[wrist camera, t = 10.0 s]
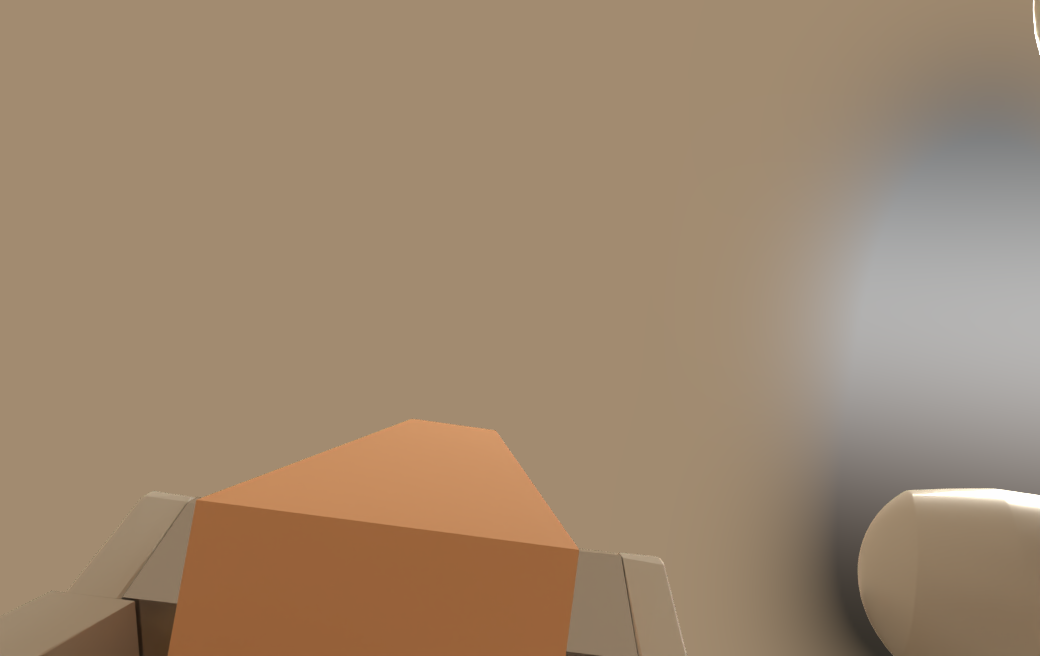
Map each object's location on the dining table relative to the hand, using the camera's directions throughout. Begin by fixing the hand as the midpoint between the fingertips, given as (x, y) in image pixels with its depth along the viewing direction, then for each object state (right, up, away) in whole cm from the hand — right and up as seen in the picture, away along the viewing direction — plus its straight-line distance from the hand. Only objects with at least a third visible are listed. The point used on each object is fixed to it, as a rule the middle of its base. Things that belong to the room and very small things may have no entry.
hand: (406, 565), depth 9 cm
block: (-1, -3, +6) cm, 7 cm away
